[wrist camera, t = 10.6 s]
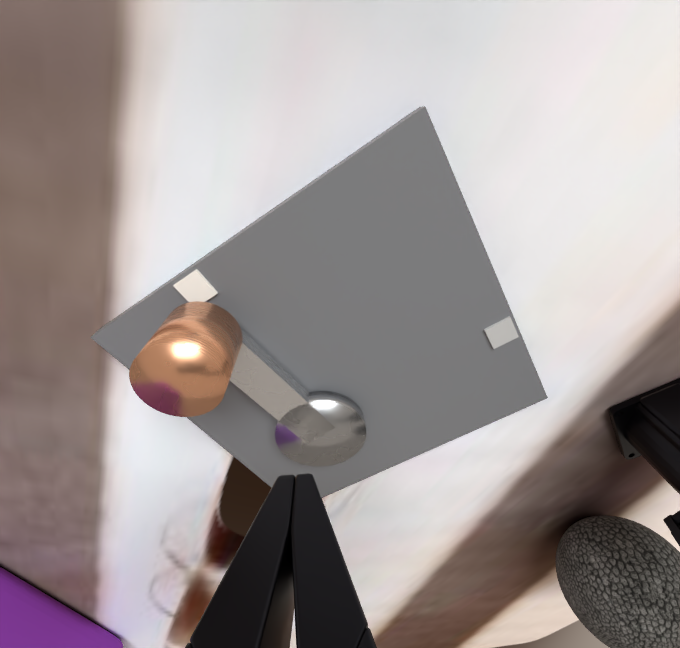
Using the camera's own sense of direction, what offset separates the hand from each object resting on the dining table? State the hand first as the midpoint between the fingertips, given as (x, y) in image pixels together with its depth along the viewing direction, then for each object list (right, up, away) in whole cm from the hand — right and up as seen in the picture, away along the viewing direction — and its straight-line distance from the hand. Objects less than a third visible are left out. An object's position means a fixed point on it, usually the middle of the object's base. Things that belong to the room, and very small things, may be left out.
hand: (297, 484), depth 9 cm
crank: (-3, 0, +13) cm, 14 cm away
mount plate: (+1, +2, +14) cm, 14 cm away
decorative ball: (+25, -15, +26) cm, 39 cm away
